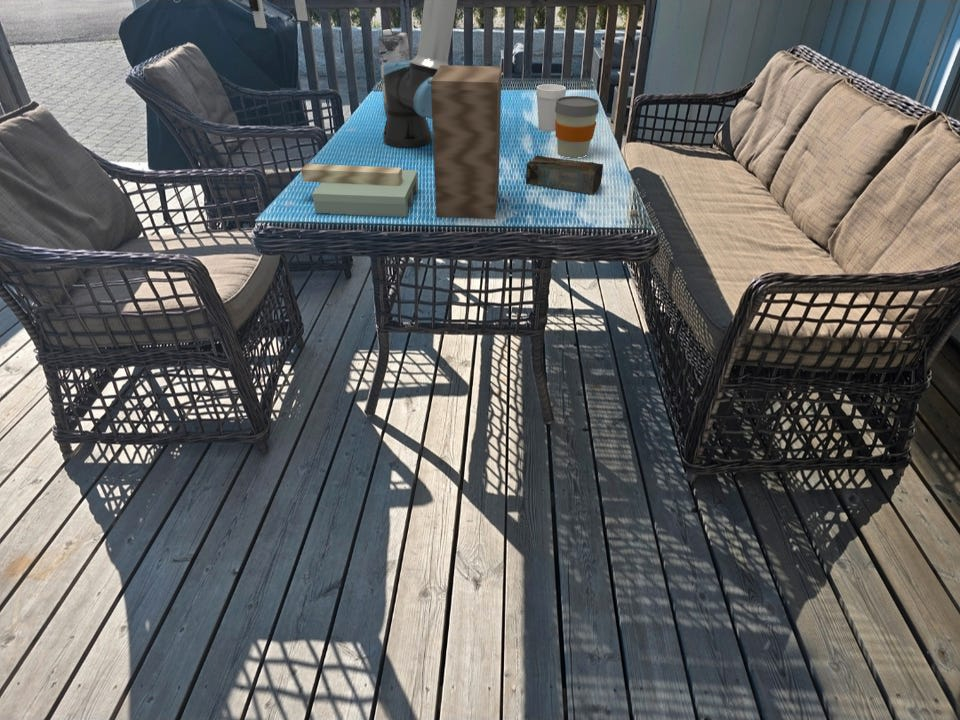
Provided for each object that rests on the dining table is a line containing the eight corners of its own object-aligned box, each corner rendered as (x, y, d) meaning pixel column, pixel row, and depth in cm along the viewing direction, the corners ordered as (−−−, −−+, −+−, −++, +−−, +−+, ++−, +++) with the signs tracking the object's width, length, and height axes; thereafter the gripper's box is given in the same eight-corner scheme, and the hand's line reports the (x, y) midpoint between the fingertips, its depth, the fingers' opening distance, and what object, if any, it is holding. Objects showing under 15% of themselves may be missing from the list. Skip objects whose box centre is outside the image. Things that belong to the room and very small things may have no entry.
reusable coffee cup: (544, 155, 179) (547, 102, 170) (563, 144, 187) (568, 93, 178) (582, 163, 173) (588, 109, 164) (600, 152, 182) (606, 99, 173)
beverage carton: (534, 175, 166) (536, 151, 162) (602, 186, 160) (605, 161, 156) (524, 185, 160) (525, 160, 156) (594, 196, 154) (597, 171, 150)
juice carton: (414, 111, 217) (409, 27, 201) (408, 119, 209) (402, 32, 192) (390, 110, 218) (383, 27, 202) (383, 118, 209) (375, 31, 193)
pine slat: (303, 181, 146) (300, 169, 145) (308, 175, 150) (306, 163, 148) (399, 185, 145) (398, 173, 143) (402, 179, 148) (401, 167, 146)
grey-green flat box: (315, 213, 143) (312, 193, 140) (336, 186, 158) (333, 167, 155) (406, 217, 142) (404, 197, 139) (418, 189, 156) (417, 170, 153)
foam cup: (558, 134, 196) (562, 91, 188) (531, 131, 198) (533, 89, 191) (564, 126, 203) (568, 85, 195) (538, 123, 206) (541, 83, 198)
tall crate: (436, 216, 142) (430, 80, 124) (444, 191, 155) (440, 65, 137) (494, 218, 141) (497, 82, 123) (498, 193, 154) (501, 66, 136)
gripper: (292, -89, 139) (307, 16, 151) (204, -89, 121) (230, 29, 134) (316, -88, 136) (330, 18, 149) (230, -89, 118) (254, 32, 131)
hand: (282, 23), depth 141 cm, fingers open, 13 cm apart
